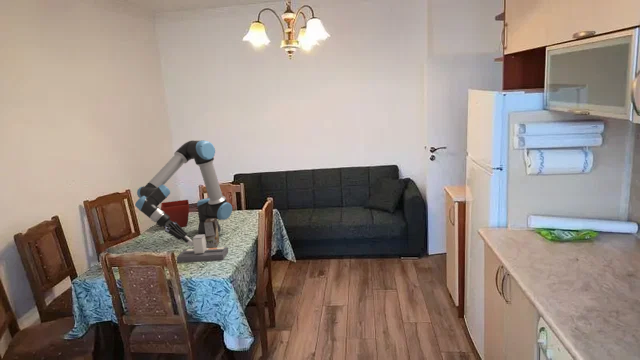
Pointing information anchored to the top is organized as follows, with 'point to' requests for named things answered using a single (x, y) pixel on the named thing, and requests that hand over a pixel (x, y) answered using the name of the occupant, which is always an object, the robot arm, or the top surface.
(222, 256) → the switch deck
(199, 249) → the switch tab
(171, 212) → the plant pot
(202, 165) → the robot arm
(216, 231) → the coffee box
